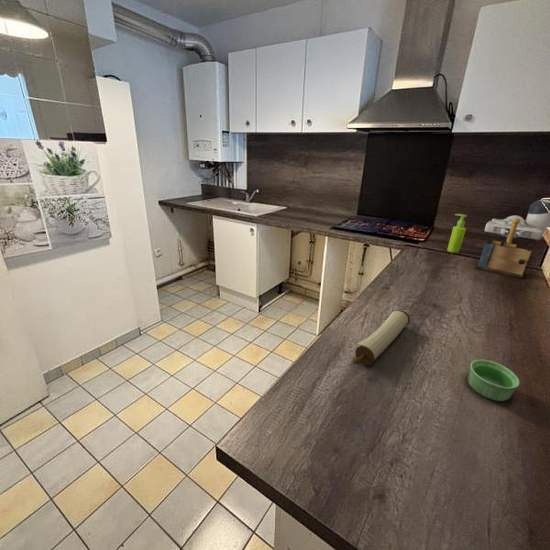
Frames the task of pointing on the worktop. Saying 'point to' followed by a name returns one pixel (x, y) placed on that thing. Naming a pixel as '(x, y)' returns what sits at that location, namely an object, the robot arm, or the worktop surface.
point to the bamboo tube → (381, 338)
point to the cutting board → (504, 259)
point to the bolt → (510, 234)
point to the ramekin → (492, 380)
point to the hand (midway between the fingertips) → (511, 233)
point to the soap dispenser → (457, 235)
